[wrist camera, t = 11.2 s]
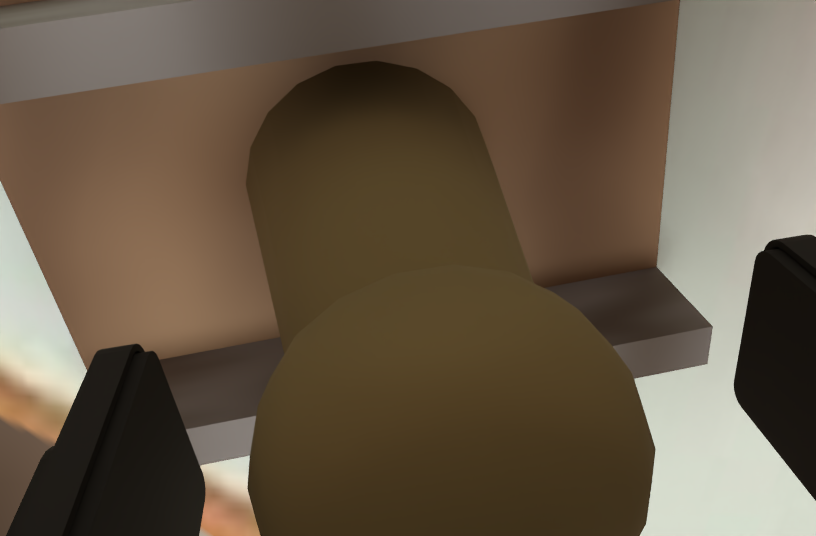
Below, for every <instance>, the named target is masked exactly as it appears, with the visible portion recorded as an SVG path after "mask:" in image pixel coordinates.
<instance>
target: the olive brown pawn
mask: <svg viewBox="0 0 816 536" xmlns="http://www.w3.org/2000/svg"><path fill="white" fill-rule="evenodd" d="M246 188H247V192H248V197H249V201H250V205H251V210H252V214H253V219H254V223H255V228H256V232H257V236H258V241H259V245H260V250H261V254H262V258H263V263H264V267H265V272H266V276H267V280H268V285H269V289H270V294H271V298H272V302H273V307H274V311H275V316H276V320H277V324H278V329H279V333H280V338H281V342H282V347H283V351H284V356H283V357H282V359H281V361H280V362H279V364H278V366H277V367H276V369H275V371H274V372H273V374H272V376H271V377H270V379H269V382H268V384H267V386H266V388H265V391H264V393H263V395H262V397H261V400H260V402H259V404H258V408H257V414H256V420H255V426H254V433H253V439H252V445H251V452H250V462H249V476H248V492H249V496H250V499H251V503H252V507H253V510H254V514H255V518H256V521H257V525H258V528H259V532H260V535H261V536H639V535H640V534H641V532H642V530H643V528H644V526H645V525H646V520H647V513H648V506H649V498H650V491H651V484H652V475H653V466H654V457H655V446H654V443H653V439H652V436H651V433H650V429H649V426H648V423H647V419H646V416H645V413H644V410H643V406H642V403H641V400H640V397H639V394H638V391H637V387H636V384H635V381H634V378H633V375H632V372H631V371H630V370H629V368H628V367H627V365H626V364H625V363H624V361H623V360H622V359H621V357H620V356H619V354H618V353H617V352H616V350H615V349H614V348H613V346H612V345H611V344H610V343H609V342H608V341H607V340H606V338H605V337H604V336H603V335H602V334H601V333H600V332H599V331H598V330H597V329H596V328H595V327H594V325H593V324H592V323H591V322H590V321H589V320H588V319H587V318H586V317H585V316H584V315H583V314H582V313H581V311H580V310H579V309H577V308H576V307H574V306H573V305H571V304H570V303H568V302H567V301H565V300H564V299H563V298H561V297H560V296H558V295H557V294H555V293H554V292H551V291H549V290H547V289H545V288H543V287H541V286H539V285H537V284H535V283H534V282H533V279H532V276H531V273H530V270H529V267H528V265H527V262H526V259H525V256H524V253H523V250H522V247H521V244H520V241H519V239H518V236H517V233H516V230H515V227H514V224H513V221H512V218H511V215H510V213H509V210H508V207H507V204H506V201H505V198H504V195H503V192H502V189H501V187H500V184H499V181H498V178H497V175H496V172H495V169H494V166H493V163H492V161H491V158H490V155H489V152H488V149H487V146H486V144H485V141H484V139H483V136H482V133H481V131H480V128H479V125H478V123H477V120H476V118H475V116H474V115H473V113H472V112H471V111H470V110H469V109H468V108H467V106H466V105H465V104H464V103H463V102H462V101H461V99H460V98H459V97H458V96H457V95H456V94H455V92H454V91H453V90H452V89H451V88H450V87H448V86H446V85H445V84H443V83H441V82H439V81H438V80H436V79H434V78H432V77H431V76H429V75H427V74H426V73H424V72H422V71H420V70H419V69H417V68H412V67H407V66H402V65H397V64H392V63H386V62H381V61H370V62H362V63H354V64H346V65H338V66H334V67H332V68H330V69H328V70H326V71H323V72H321V73H319V74H317V75H315V76H313V77H311V78H309V79H307V80H305V81H303V82H300V83H298V84H297V85H296V86H295V87H294V88H293V89H292V90H291V91H290V92H289V93H288V94H286V95H285V96H284V97H283V98H282V99H281V100H280V101H279V102H278V103H277V104H276V105H275V106H274V107H273V108H272V109H271V110H270V111H269V112H268V113H267V115H266V117H265V119H264V121H263V123H262V125H261V127H260V129H259V131H258V133H257V135H256V137H255V139H254V141H253V143H252V145H251V147H250V154H249V162H248V170H247V178H246Z"/></svg>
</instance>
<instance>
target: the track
mask: <svg viewBox="0 0 816 536" xmlns="http://www.w3.org/2000/svg"><path fill="white" fill-rule="evenodd" d="M679 5H680V0H0V181H1V183H2V185H3V187H4V189H5V192H6V194H7V196H8V198H9V200H10V203H11V205H12V207H13V209H14V211H15V214H16V216H17V218H18V220H19V222H20V224H21V227H22V229H23V231H24V233H25V235H26V238H27V240H28V242H29V244H30V246H31V249H32V251H33V253H34V255H35V257H36V259H37V262H38V264H39V266H40V268H41V270H42V273H43V275H44V277H45V279H46V281H47V284H48V286H49V288H50V290H51V292H52V295H53V297H54V299H55V301H56V303H57V305H58V308H59V310H60V312H61V314H62V316H63V319H64V321H65V323H66V325H67V327H68V330H69V332H70V334H71V336H72V338H73V341H74V343H75V345H76V347H77V349H78V351H79V354H80V356H81V358H82V360H83V362H84V365H85V367H86V369H87V371H88V369H89V366H90V364H91V362H92V359H93V357H94V355H95V354H96V352H97V351H98V350H100V349H106V348H112V347H118V346H124V345H130V344H136V343H137V344H139V345H141V347H142V348H143V349H144V351H145V352H147V351H154V352H155V353H156V354H157V356H158V358H159V360H160V363H161V366H162V368H163V371H164V374H165V376H166V379H167V381H168V384H169V387H170V389H171V392H172V395H173V397H174V400H175V402H176V405H177V408H178V410H179V413H180V415H181V418H182V421H183V423H184V426H185V429H186V431H187V434H188V436H189V439H190V442H191V444H192V447H193V450H194V452H195V455H196V457H197V460H198V463H199V465H204V464H209V463H214V462H219V461H224V460H229V459H234V458H239V457H244V456H249V455H250V452H251V445H252V439H253V433H254V426H255V420H256V414H257V408H258V404H259V402H260V400H261V397H262V395H263V393H264V391H265V388H266V386H267V384H268V382H269V379H270V377H271V376H272V374H273V372H274V371H275V369H276V367H277V366H278V364H279V362H280V361H281V359H282V357H283V356H284V351H283V347H282V342H281V338H280V333H279V329H278V324H277V320H276V316H275V311H274V307H273V302H272V298H271V294H270V289H269V285H268V280H267V276H266V272H265V267H264V263H263V258H262V254H261V250H260V245H259V241H258V236H257V232H256V228H255V223H254V219H253V214H252V210H251V205H250V201H249V197H248V192H247V188H246V178H247V170H248V162H249V154H250V147H251V145H252V143H253V141H254V139H255V137H256V135H257V133H258V131H259V129H260V127H261V125H262V123H263V121H264V119H265V117H266V115H267V113H268V112H269V111H270V110H271V109H272V108H273V107H274V106H275V105H276V104H277V103H278V102H279V101H280V100H281V99H282V98H283V97H284V96H285V95H286V94H288V93H289V92H290V91H291V90H292V89H293V88H294V87H295V86H296V85H297V84H298V83H300V82H303V81H305V80H307V79H309V78H311V77H313V76H315V75H317V74H319V73H321V72H323V71H326V70H328V69H330V68H332V67H334V66H338V65H346V64H354V63H362V62H370V61H381V62H386V63H392V64H397V65H402V66H407V67H412V68H417V69H419V70H420V71H422V72H424V73H426V74H427V75H429V76H431V77H432V78H434V79H436V80H438V81H439V82H441V83H443V84H445V85H446V86H448V87H450V88H451V89H452V90H453V91H454V92H455V94H456V95H457V96H458V97H459V98H460V99H461V101H462V102H463V103H464V104H465V105H466V106H467V108H468V109H469V110H470V111H471V112H472V113H473V115H474V116H475V118H476V120H477V123H478V125H479V128H480V131H481V133H482V136H483V139H484V141H485V144H486V146H487V149H488V152H489V155H490V158H491V161H492V163H493V166H494V169H495V172H496V175H497V178H498V181H499V184H500V187H501V189H502V192H503V195H504V198H505V201H506V204H507V207H508V210H509V213H510V215H511V218H512V221H513V224H514V227H515V230H516V233H517V236H518V239H519V241H520V244H521V247H522V250H523V253H524V256H525V259H526V262H527V265H528V267H529V270H530V273H531V276H532V279H533V282H534V283H535V284H537V285H539V286H541V287H543V288H545V289H547V290H549V291H551V292H554V293H555V294H557V295H558V296H560V297H561V298H563V299H564V300H565V301H567V302H568V303H570V304H571V305H573V306H574V307H576V308H577V309H579V310H580V311H581V313H582V314H583V315H584V316H585V317H586V318H587V319H588V320H589V321H590V322H591V323H592V324H593V325H594V327H595V328H596V329H597V330H598V331H599V332H600V333H601V334H602V335H603V336H604V337H605V338H606V340H607V341H608V342H609V343H610V344H611V345H612V346H613V348H614V349H615V350H616V352H617V353H618V354H619V356H620V357H621V359H622V360H623V361H624V363H625V364H626V365H627V367H628V368H629V370H630V371H631V372H632V375H633V378H639V377H644V376H649V375H654V374H659V373H664V372H669V371H674V370H679V369H684V368H689V367H694V366H699V365H704V364H707V362H708V355H709V348H710V341H711V334H712V328H713V326H712V325H711V324H710V323H709V322H708V321H707V320H706V319H705V318H704V317H703V316H702V315H701V314H700V313H699V312H698V311H697V309H696V308H695V307H694V306H693V305H692V304H691V303H690V302H689V301H688V300H687V299H686V298H685V297H684V296H683V295H682V294H681V292H680V291H679V290H678V289H677V288H676V287H675V286H674V285H673V284H672V283H671V282H670V281H669V280H668V279H667V278H666V277H665V276H664V274H663V273H662V272H661V271H660V270H659V269H658V268H657V267H656V266H657V254H658V243H659V232H660V220H661V209H662V198H663V186H664V175H665V164H666V152H667V141H668V130H669V118H670V107H671V95H672V84H673V73H674V61H675V50H676V39H677V27H678V16H679Z"/></svg>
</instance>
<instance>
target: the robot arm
mask: <svg viewBox="0 0 816 536" xmlns="http://www.w3.org/2000/svg"><path fill="white" fill-rule="evenodd" d="M734 391H735V395H736V398H737V400H738V403H739V404H740V406H741V407H742V408H743V410H744V411H745V412H746V413H747V415H748V416H749V417H750V418H751V420H752V421H753V422H754V424H755V425H756V426H757V427H758V429H759V430H760V431H761V432H762V434H763V435H764V436H765V437H766V439H767V440H768V441H769V442H770V444H771V445H772V446H773V447H774V449H775V450H776V451H777V453H778V454H779V455H780V456H781V458H782V459H783V460H784V461H785V463H786V464H787V465H788V466H789V468H790V469H791V470H792V471H793V473H794V474H795V475H796V476H797V478H798V479H799V480H800V482H801V483H802V484H803V485H804V487H805V488H806V489H807V490H808V492H809V493H810V494H811V495H812V497H813V498H814V499H815V500H816V237H814V236H812V235H801V236H795V237H789V238H783V239H777V240H772V241H770V242H769V243H768V244H767V246H766V247H765V250H764V251H761V252H760V253H758V255H757V256H756V259H755V264H754V269H753V275H752V281H751V287H750V292H749V298H748V304H747V310H746V316H745V321H744V327H743V333H742V339H741V344H740V350H739V356H738V362H737V368H736V373H735V379H734ZM204 502H205V481H204V477H203V473H202V470H201V468H200V465H199V463H198V460H197V457H196V455H195V452H194V450H193V447H192V444H191V442H190V439H189V436H188V434H187V431H186V429H185V426H184V423H183V421H182V418H181V415H180V413H179V410H178V408H177V405H176V402H175V400H174V397H173V395H172V392H171V389H170V387H169V384H168V381H167V379H166V376H165V374H164V371H163V368H162V366H161V363H160V360H159V358H158V356H157V354H156V353H155V352H154V351H147V352H145V351H144V349H143V348H142V347H141V345H139V344H137V343H136V344H130V345H124V346H118V347H112V348H106V349H100V350H98V351H97V352H96V354H95V355H94V357H93V359H92V362H91V364H90V366H89V369H88V371H87V373H86V375H85V378H84V380H83V382H82V384H81V387H80V389H79V391H78V393H77V396H76V398H75V400H74V403H73V405H72V407H71V409H70V412H69V414H68V416H67V418H66V421H65V423H64V425H63V428H62V430H61V432H60V434H59V437H58V439H57V441H56V443H55V446H52V447H51V448H50V449H48V450H47V451H46V452H45V454H44V455H43V457H42V458H41V460H40V462H39V464H38V467H37V469H36V471H35V473H34V475H33V477H32V480H31V482H30V484H29V486H28V489H27V491H26V493H25V495H24V498H23V499H22V502H21V504H20V506H19V508H18V511H17V513H16V515H15V517H14V520H13V522H12V524H11V526H10V529H9V530H8V533H7V535H6V536H199V532H200V526H201V520H202V514H203V508H204Z"/></svg>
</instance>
